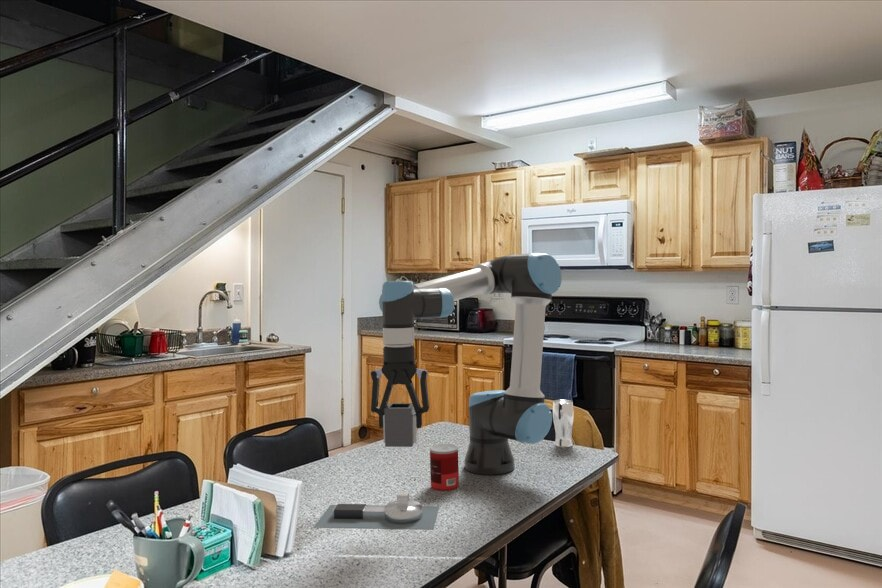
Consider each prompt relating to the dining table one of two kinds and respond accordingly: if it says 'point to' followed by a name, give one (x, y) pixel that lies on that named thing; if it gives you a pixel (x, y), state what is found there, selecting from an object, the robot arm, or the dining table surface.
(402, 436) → the open square tube
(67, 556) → the dining table surface
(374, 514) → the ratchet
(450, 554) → the dining table surface
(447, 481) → the canned food
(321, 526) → the mat
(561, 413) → the beer glass
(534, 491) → the dining table surface
